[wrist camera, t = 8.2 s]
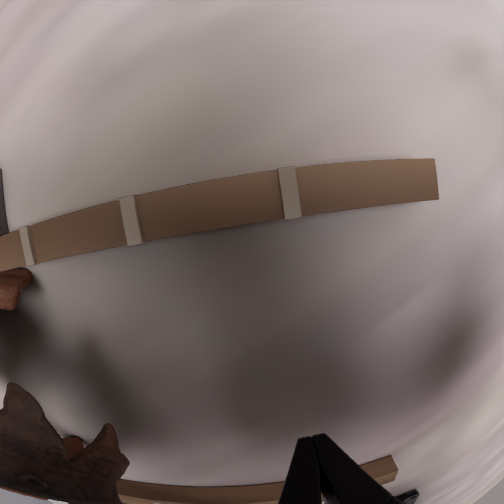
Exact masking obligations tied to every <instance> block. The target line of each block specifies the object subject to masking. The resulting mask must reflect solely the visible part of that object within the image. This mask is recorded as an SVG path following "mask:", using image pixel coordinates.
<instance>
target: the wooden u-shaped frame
mask: <svg viewBox="0 0 504 504" xmlns="http://www.w3.org/2000/svg"><path fill="white" fill-rule="evenodd" d="M438 199H439V194H438V183H437V174H436V166H435V159H396V160H375V161H360V162H346V163H335V164H324V165H314V166H305V167H296V168H295V166H294V167H285V168H278V169H277V170H272V171H265V172H258V173H251V174H244V175H238V176H232V177H226V178H220V179H214V180H209V181H203V182H198V183H193V184H187V185H182V186H177V187H173V188H168V189H163V190H158V191H154V192H149V193H145V194H141V195H136V196H135V195H131V196H127V197H123V198H119V200H116V201H112V202H108V203H104V204H101V205H97V206H93V207H90V208H86V209H82V210H79V211H75V212H72V213H69V214H65V215H62V216H59V217H55V218H52V219H49V220H46V221H43V222H40V223H37V224H34V225H31V226H29V225H28V226H25V227H22V228H19V230H16V231H13V232H10V233H8V228H7V222H6V215H5V208H4V200H3V190H2V177H1V169H0V272H1V271H5V270H9V269H14V268H18V267H22V266H27V267H28V266H32V265H36V264H37V263H40V262H45V261H50V260H54V259H59V258H64V257H69V256H73V255H78V254H83V253H88V252H93V251H98V250H103V249H108V248H113V247H119V246H124V245H128V246H132V245H137V244H142V243H144V242H145V241H151V240H156V239H162V238H167V237H173V236H179V235H185V234H190V233H196V232H202V231H208V230H214V229H220V228H226V227H233V226H239V225H245V224H252V223H258V222H265V221H271V220H278V219H285V220H289V219H296V218H302V216H306V215H313V214H320V213H328V212H335V211H343V210H351V209H359V208H367V207H375V206H383V205H392V204H400V203H409V202H418V201H428V200H438ZM6 233H8V234H6ZM3 234H5V235H3ZM1 235H2V236H1ZM360 467H361V468H362V469H363V470H364V471H365V472H367V473H368V474H369V475H370V476H371V477H372V478H373V479H374V480H376V481H377V482H378V483H379V484H380V485H383V484H386V483H389V482H391V481H394V480H395V477H396V475H397V473H398V468H397V466H396V464H395V462H394V460H393V458H392V456H388V457H385V458H382V459H379V460H376V461H373V462H370V463H367V464H364V465H360ZM284 484H285V482H280V483H272V484H263V485H252V486H237V487H183V486H168V485H157V484H148V483H140V482H133V481H127V480H121V479H119V480H118V481H117V483H116V487H117V492H118V496H119V498H120V500H121V502H122V504H278V502H279V499H280V496H281V493H282V490H283V487H284ZM321 499H322V502H323V501H324V500H323V497H322V494H321Z"/></svg>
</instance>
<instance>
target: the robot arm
mask: <svg viewBox="0 0 504 504" xmlns="http://www.w3.org/2000/svg"><path fill="white" fill-rule="evenodd" d="M321 494H322V497H323V500H324V502H325V504H414V502H415V501H416V499H417V498H418V496H419V492H418V491H413V492H411V493H409V494H406V495H404V496H401V497H399V498H395V497H394V496H392V494H391V493H389V492H388V491H387V490H386V489H385V488H384V487H382V486H381V485H380V484H379V483H378V482H377V481H376V480H374V479H373V478H372V477H371V476H370V475H369V474H368V473H367V472H365V471H364V470H363V469H362V468H361V467H360V466H359V465H358V464H357V463H356V462H355V461H354V460H352V459H351V458H350V457H349V456H348V455H347V454H346V453H345V452H344V451H343V450H342V449H341V448H340V447H339V446H338V445H337V444H336V443H335V442H334V441H333V440H332V439H331V438H330V437H329V436H328V435H326V434H325V433H321V434H316V435H313V436H312V437H311V436H307V437H302V438H299V439H298V440H297V444H296V447H295V451H294V454H293V458H292V461H291V464H290V468H289V471H288V474H287V477H286V481H285V484H284V487H283V490H282V493H281V496H280V499H279V502H278V504H322V499H321Z"/></svg>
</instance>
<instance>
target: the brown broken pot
mask: <svg viewBox="0 0 504 504" xmlns="http://www.w3.org/2000/svg"><path fill="white" fill-rule="evenodd" d="M31 279H32V274H31V272H30V271H29V270H27V269H20V268H14V269H9V270H5V271H1V272H0V309H5V310H14V309H15V308H16V307H17V305H18V302H19V299H20V294H21V290H23V289H24V288H25V287H26V286H27V285H28V283H29V282H30V281H31ZM3 404H4V407H3V408H2V409H1V410H0V488H2V489H5V490H8V491H11V492H15V493H19V494H22V495H26V496H31V497H35V498H38V499H42V500H47V499H52V500H57V501H63V502H68V503H69V504H122V502H121V500H120V498H119V496H118V492H117V487H116V483H117V481H118V480H119V479H120V477H121V476H122V475H123V474H124V473H125V471H126V469H127V467H128V466H129V464H130V462H129V460H128V459H127V458H126V456H125V455H124V454H122V453H120V450H119V447H118V439H117V435H116V433H115V430H114V427H113V426H112V425H111V424H110V423H107V424H105V425H104V426H103V428H102V430H101V432H100V433H99V434H98V436H97V437H96V439H95V440H94V441H93V442H92V443H91V444H89V445H88V446H86V447H85V448H84V446H83V443H82V441H81V440H80V438H78V437H77V436H74V437H70V438H61V437H60V435H59V434H58V433H57V431H56V430H55V429H54V428H53V426H52V425H51V424H50V423H49V421H48V420H47V419H46V417H45V415H44V412H43V410H42V408H41V406H40V404H39V403H38V401H37V400H36V399H35V398H34V397H33V396H32V395H31V394H30V393H28V392H27V391H25V390H24V389H23V388H22V387H20V386H19V385H17V384H15V383H13V382H9V383H8V384H7V390H6V394H5V398H4V402H3Z"/></svg>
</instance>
